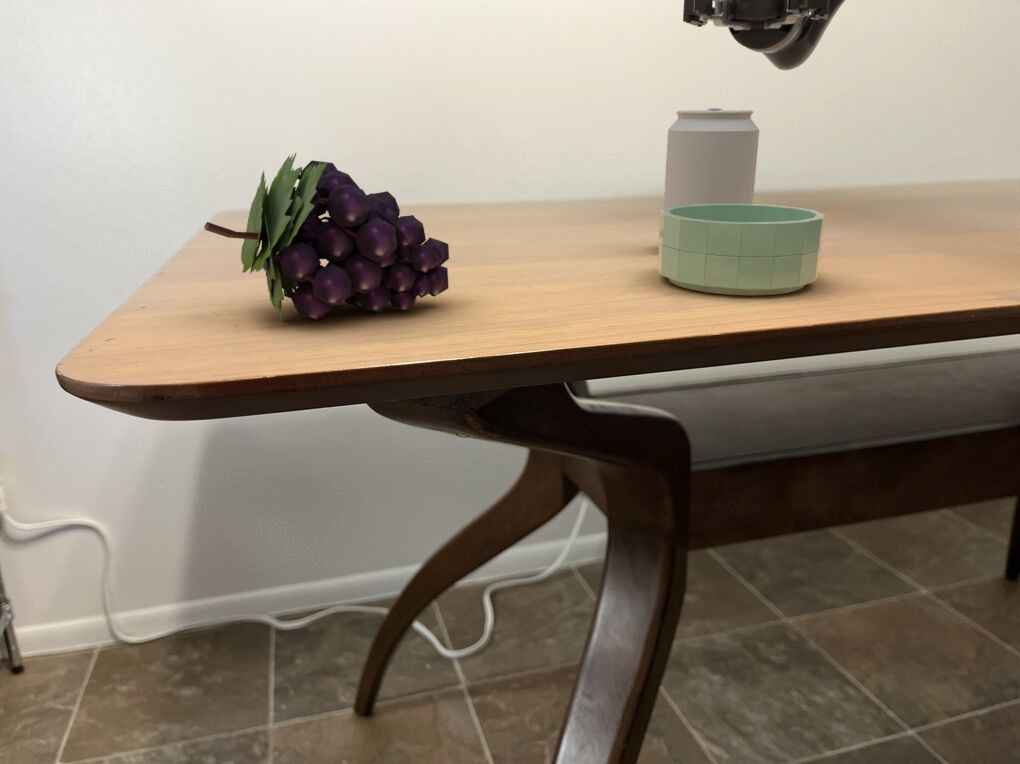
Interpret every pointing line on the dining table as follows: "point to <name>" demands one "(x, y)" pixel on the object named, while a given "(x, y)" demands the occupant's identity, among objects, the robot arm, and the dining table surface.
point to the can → (711, 158)
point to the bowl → (740, 247)
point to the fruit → (336, 244)
